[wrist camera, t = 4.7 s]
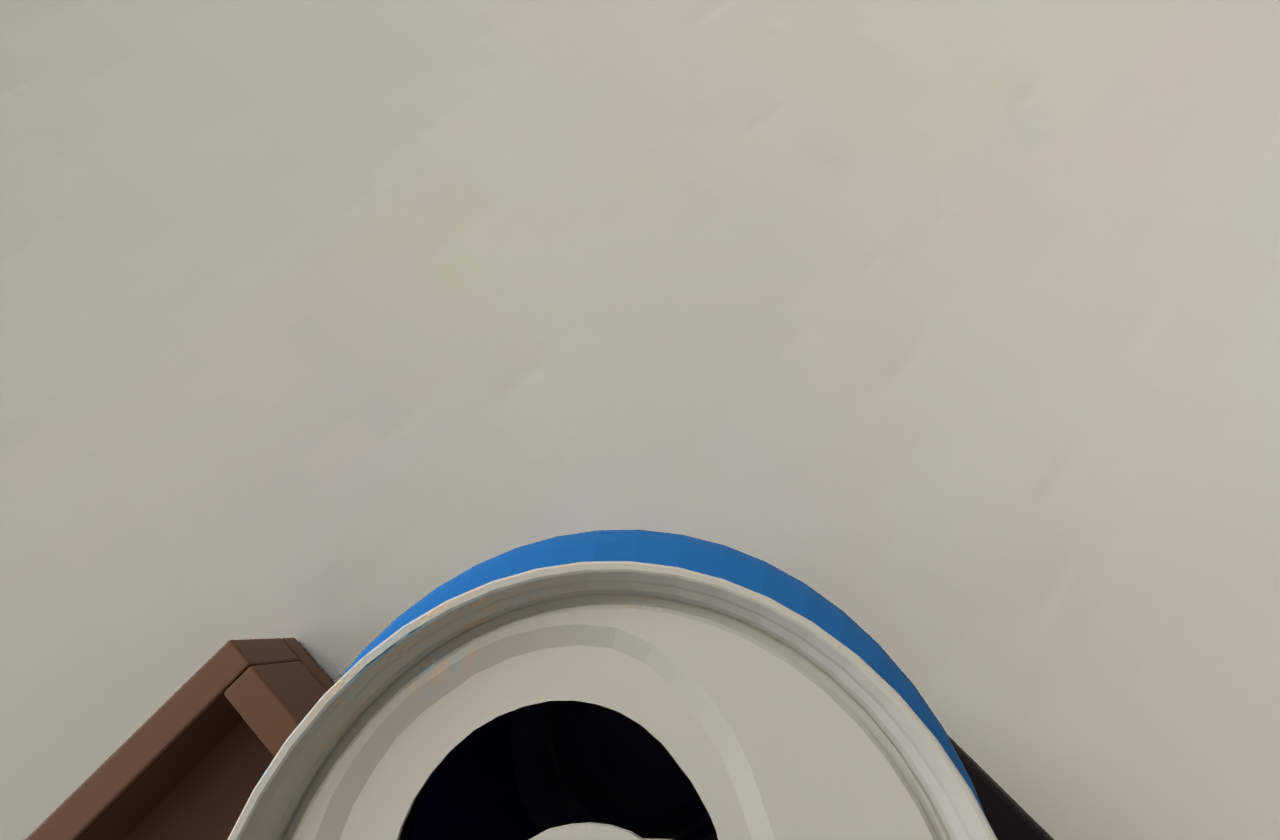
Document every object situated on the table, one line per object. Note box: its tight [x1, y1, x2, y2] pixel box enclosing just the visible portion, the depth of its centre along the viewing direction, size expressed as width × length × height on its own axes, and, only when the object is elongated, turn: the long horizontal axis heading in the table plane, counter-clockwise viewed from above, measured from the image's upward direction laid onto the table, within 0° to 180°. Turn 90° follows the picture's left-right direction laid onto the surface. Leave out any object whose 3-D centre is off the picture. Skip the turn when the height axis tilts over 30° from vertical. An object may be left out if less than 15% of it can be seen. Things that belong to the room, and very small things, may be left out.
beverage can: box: [227, 530, 997, 840], centre depth 10 cm, size 6×6×12 cm
